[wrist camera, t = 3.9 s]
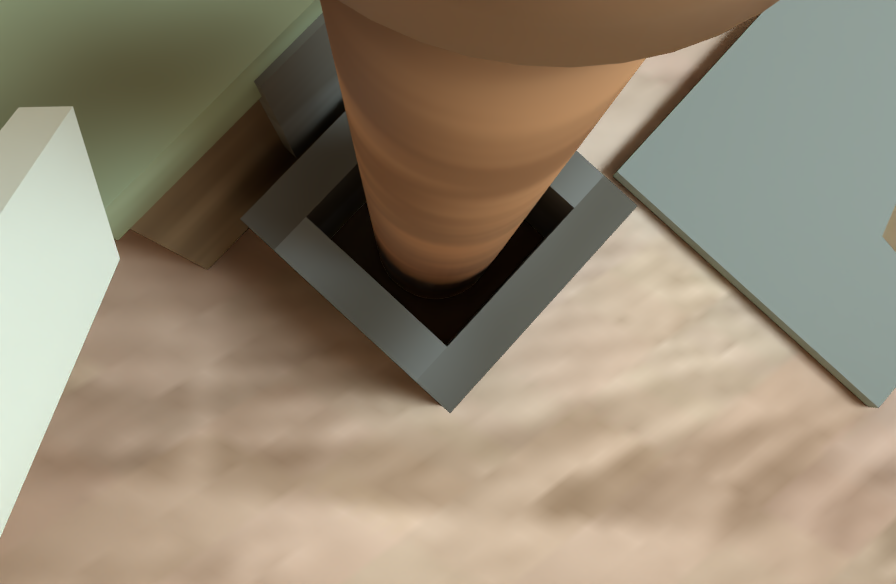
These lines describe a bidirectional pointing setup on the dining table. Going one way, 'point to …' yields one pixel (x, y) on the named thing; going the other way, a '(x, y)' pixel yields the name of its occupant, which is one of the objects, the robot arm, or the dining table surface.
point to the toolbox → (265, 158)
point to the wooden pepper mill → (486, 110)
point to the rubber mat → (794, 179)
